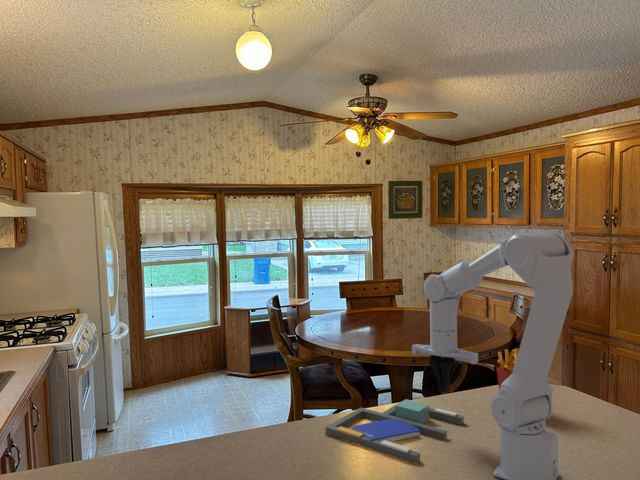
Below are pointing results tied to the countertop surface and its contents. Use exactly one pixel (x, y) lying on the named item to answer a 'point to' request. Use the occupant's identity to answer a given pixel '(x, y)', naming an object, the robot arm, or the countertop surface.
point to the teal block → (413, 411)
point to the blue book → (387, 430)
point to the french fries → (506, 365)
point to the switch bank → (435, 415)
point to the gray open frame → (384, 446)
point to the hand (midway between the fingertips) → (444, 391)
